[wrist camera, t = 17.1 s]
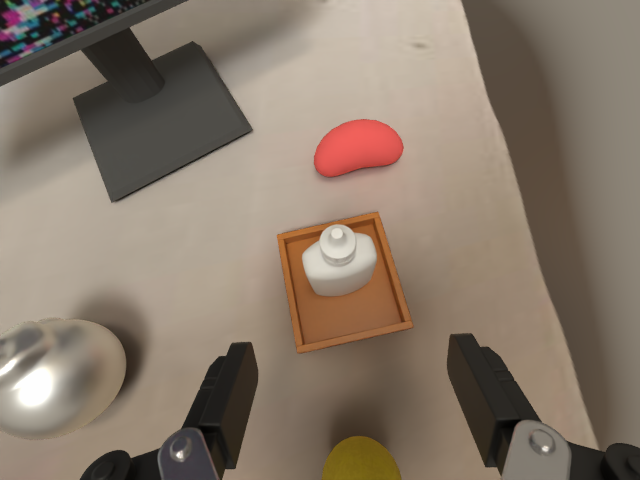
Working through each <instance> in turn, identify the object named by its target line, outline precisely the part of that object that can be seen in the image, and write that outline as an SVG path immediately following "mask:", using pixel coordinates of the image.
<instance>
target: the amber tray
mask: <svg viewBox="0 0 640 480" xmlns="http://www.w3.org/2000/svg"><path fill="white" fill-rule="evenodd" d="M336 224H340V225H344V226H347V227H349V228H350V229H351V230H352V231H353V232H354V233H361V234H366V235H368V236H370V238H371V239H372V241H373V243H374V246H375V249H376V253H377V261H376V265H375V268H374V272H373V275H372V278H371V280H370V281H369V282H368V283H367V284H366V285H364V286H363V287H362V288H360V289H358V290H356V291H354V292H352V293H349V294H346V295H342V296H321V295H318V294H316V293H315V291H314V290H313V288H312V286H311V284H310V282H309V280H308V278H307V276H306V273H305V270H304V266H303V261H302V254H303V253H304V251H305V250H306V249H307V248H309V247H310V246H311V245H313V244H314V243H316V242H317V241H319V239H320V236H321V234H322V232H323V231H324V230H325V229H326V228H327V227H329V226H332V225H336ZM277 239H278V245H279V251H280V257H281V262H282V268H283V274H284V280H285V285H286V291H287V297H288V302H289V308H290V314H291V320H292V325H293V331H294V337H295V343H296V348H297V353H305V352H310V351H314V350H319V349H323V348H327V347H332V346H336V345H341V344H345V343H349V342H354V341H358V340H363V339H367V338H372V337H376V336H380V335H385V334H389V333H394V332H398V331H402V330H407V329H410V328H413V327H414V326H413V323H412V320H411V317H410V313H409V310H408V307H407V304H406V300H405V297H404V294H403V291H402V287H401V284H400V281H399V278H398V274H397V271H396V268H395V265H394V261H393V258H392V255H391V252H390V248H389V245H388V242H387V239H386V235H385V232H384V229H383V226H382V222H381V219H380V216H379V213H378V212H374V213H370V214H366V215H361V216H357V217H353V218H348V219H344V220H339V221H335V222H331V223H326V224H322V225H318V226H313V227H309V228H305V229H300V230H296V231H291V232H287V233H283V234H278V235H277Z"/></svg>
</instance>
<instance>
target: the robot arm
mask: <svg viewBox="0 0 640 480" xmlns="http://www.w3.org/2000/svg"><path fill="white" fill-rule="evenodd" d="M447 370H448V375H449V379H450V381H451V384H452V386H453V389H454V391H455V394H456V396H457V398H458V401H459V403H460V406H461V408H462V411H463V413H464V416H465V418H466V421H467V423H468V425H469V428H470V430H471V433H472V435H473V438H474V440H475V443H476V445H477V448H478V450H479V452H480V455H481V457H482V460H483V462H484V465H485V467H497V468H498V471H499V473H500V475H501V480H640V448H638V447H635V446H632V445H629V444H623V443H615V444H612V445H610V446H609V447H608V448H607V450H606V452H602V451H599V450H595V449H591V448H588V447H584V446H580V445H577V444H573V443H571V442H568V441H566V440H565V439H564V438H563V437H562V436H561V435H560V434H559V433H558V432H557V431H556V430H555V429H553V428H552V427H550V426H548V425H546V424H544V423H542V421H541V420H540V419H539V417H538V415H537V414H536V412H535V411H534V409H533V408H532V406H531V404H530V403H529V401H528V400H527V398H526V397H525V395H524V393H523V392H522V390H521V389H520V387H519V386H518V384H517V382H516V381H514V378H513V376H512V375H511V373H510V371H508V368H507V367H506V365H505V363H504V362H503V360H502V359H501V357H500V356H499V355H498V354H496V353H495V352H494V351H493V350H491V349H490V348H489V347H480V346H479V344H478V343H477V341H476V339H475V337H474V336H473V335H472V334H471V333H466V334H451V335H450V338H449V348H448V357H447ZM257 384H258V367H257V363H256V359H255V354H254V350H253V346H252V343H251V342H237V343H232V344H231V346H230V348H229V350H228V353H227V355H226V356H219V357H218V358H217V359H216V360H215V361H214V362H213V364H212V365H211V366H210V367H209V369H208V371H207V373H206V376H205V378H204V380H203V382H202V384H201V387H200V390H199V391H198V393H197V395H196V398H195V400H194V402H193V404H192V406H191V409H190V411H189V413H188V415H187V417H186V420H185V422H184V424H183V426H182V428H181V430H179V431H177V432H175V433H174V434H172V435H171V436H170V437H169V438H168V439H167V440H166V441H165V442H164V443H163V445H162V447H161V448H159V449H156V450H154V451H151V452H148V453H145V454H142V455H139V456H136V457H133V458H130V456H129V454H128V453H127V452H125V451H123V450H115V451H111V452H109V453H106V454H104V455H103V456H101V457H100V458H98V459H97V460H96V461H94V462H93V463H92V464H91V465H90V466H89V467H88V468H87V469H86V471H85V472H84V474H83V475H82V477H81V478H80V480H222V478H223V474H224V471H225V469H235V468H236V464H237V460H238V457H239V453H240V449H241V445H242V441H243V438H244V434H245V430H246V426H247V422H248V418H249V415H250V411H251V407H252V403H253V399H254V396H255V392H256V388H257Z"/></svg>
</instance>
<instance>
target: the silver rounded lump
mask: <svg viewBox="0 0 640 480" xmlns="http://www.w3.org/2000/svg"><path fill="white" fill-rule="evenodd" d="M125 373H126V356H125V352H124V349H123V346H122V344H121V342H120V341H119V339H118V338H117V337H116V336H115V335H114V334H113V333H112V332H111V331H110V330H108V329H107V328H105V327H103V326H102V325H99V324H97V323H94V322H90V321H86V320H77V319H69V320H64V319H61V318H47V319H43V320H40V321H38V322H33V321H28V322H23V323H20V324H18V325H16V326H14V327H12V328H11V329H9V330H7V331H6V332H4V333H2V334H1V335H0V430H2V431H3V432H5V433H7V434H9V435H12V436H14V437H18V438H22V439H29V440H43V439H50V438H55V437H59V436H63V435H66V434H69V433H71V432H74V431H76V430H78V429H80V428H82V427H83V426H85V425H87V424H88V423H90V422H91V421H93V420H94V419H95V418H97V417H98V416H99V415H100V414H101V413H102V412H103V411H104V410H105V409H106V408H107V407H108V406H109V405H110V404H111V403H112V401H113V400H114V398H115V397H116V395H117V394H118V392H119V390H120V388H121V386H122V383H123V381H124V377H125Z"/></svg>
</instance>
